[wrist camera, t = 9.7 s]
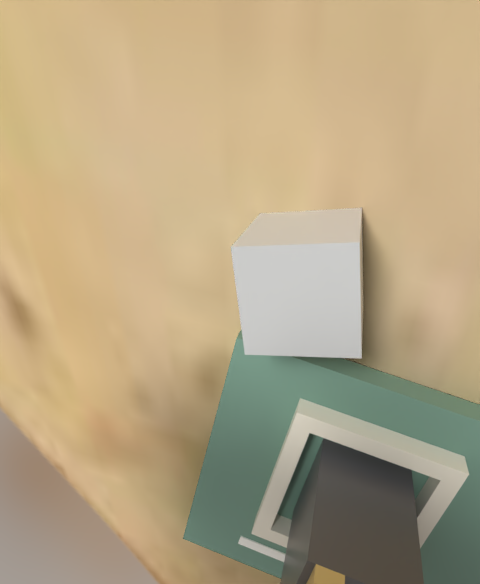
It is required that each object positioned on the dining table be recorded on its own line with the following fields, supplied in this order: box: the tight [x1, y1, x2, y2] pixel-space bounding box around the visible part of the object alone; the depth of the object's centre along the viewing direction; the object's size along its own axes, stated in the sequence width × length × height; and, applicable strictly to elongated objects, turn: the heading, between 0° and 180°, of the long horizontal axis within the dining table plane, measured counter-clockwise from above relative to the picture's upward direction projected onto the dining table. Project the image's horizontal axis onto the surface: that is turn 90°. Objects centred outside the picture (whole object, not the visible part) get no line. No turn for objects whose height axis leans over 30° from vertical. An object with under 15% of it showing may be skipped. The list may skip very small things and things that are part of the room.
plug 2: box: [280, 438, 424, 584], centre depth 18 cm, size 4×5×7 cm
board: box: [183, 329, 480, 584], centre depth 22 cm, size 16×14×2 cm
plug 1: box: [231, 208, 363, 358], centre depth 17 cm, size 4×4×4 cm
